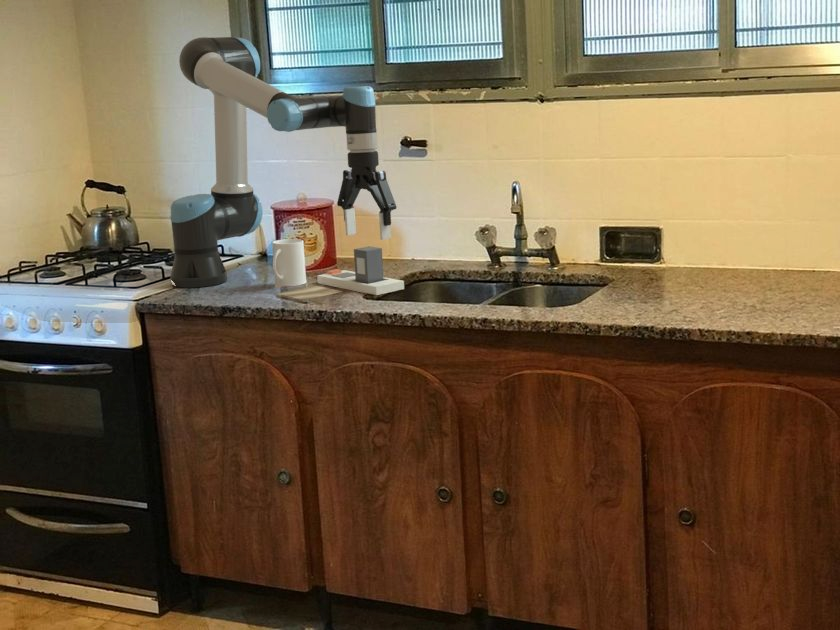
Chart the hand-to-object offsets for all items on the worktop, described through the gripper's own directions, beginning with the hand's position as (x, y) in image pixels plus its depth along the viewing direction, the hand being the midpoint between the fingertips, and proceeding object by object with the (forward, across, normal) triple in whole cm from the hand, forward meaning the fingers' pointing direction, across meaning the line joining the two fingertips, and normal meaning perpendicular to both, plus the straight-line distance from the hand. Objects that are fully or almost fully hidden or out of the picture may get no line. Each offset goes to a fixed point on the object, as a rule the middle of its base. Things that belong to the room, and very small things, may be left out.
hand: (368, 236), depth 258 cm
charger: (+13, 0, 0) cm, 13 cm away
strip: (+14, -8, 0) cm, 16 cm away
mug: (+14, -22, -10) cm, 28 cm away
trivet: (+14, -8, -13) cm, 21 cm away
